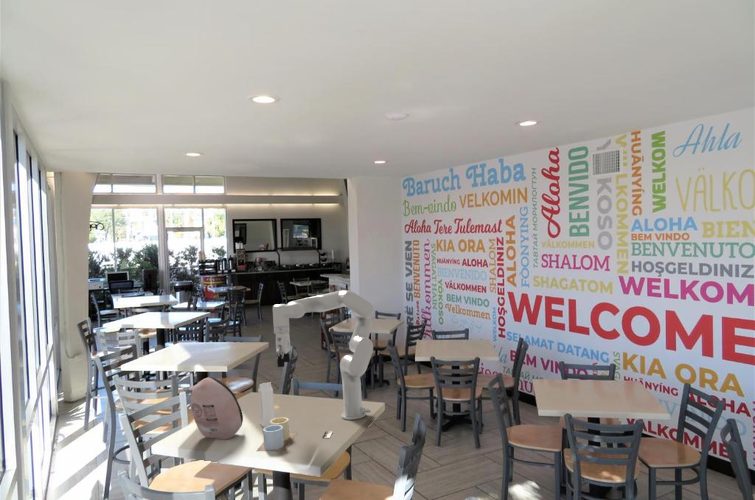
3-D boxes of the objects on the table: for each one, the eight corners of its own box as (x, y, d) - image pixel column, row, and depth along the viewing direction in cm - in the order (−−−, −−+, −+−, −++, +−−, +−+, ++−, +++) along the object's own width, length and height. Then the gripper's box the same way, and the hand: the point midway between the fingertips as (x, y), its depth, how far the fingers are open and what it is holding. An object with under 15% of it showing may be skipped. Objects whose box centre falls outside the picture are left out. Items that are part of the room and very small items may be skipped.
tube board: (332, 431, 243) (332, 429, 243) (323, 452, 219) (322, 449, 219) (272, 433, 246) (272, 431, 246) (256, 453, 222) (256, 451, 222)
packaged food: (249, 432, 249) (245, 371, 248) (222, 448, 231) (218, 382, 231) (214, 428, 258) (211, 369, 257) (185, 443, 240) (181, 380, 239)
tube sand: (291, 434, 240) (290, 417, 240) (286, 440, 232) (285, 423, 232) (274, 434, 241) (273, 417, 241) (268, 441, 232) (267, 423, 232)
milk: (275, 426, 255) (272, 383, 255) (263, 429, 252) (261, 385, 252) (271, 423, 260) (269, 380, 260) (259, 426, 257) (257, 382, 257)
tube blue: (285, 442, 230) (284, 424, 230) (280, 449, 222) (279, 431, 222) (267, 442, 231) (266, 425, 231) (261, 450, 222) (260, 432, 222)
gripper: (284, 332, 240) (286, 368, 240) (293, 326, 257) (295, 360, 257) (268, 332, 241) (271, 369, 241) (279, 327, 258) (281, 360, 258)
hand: (283, 364), depth 249 cm, fingers open, 9 cm apart
